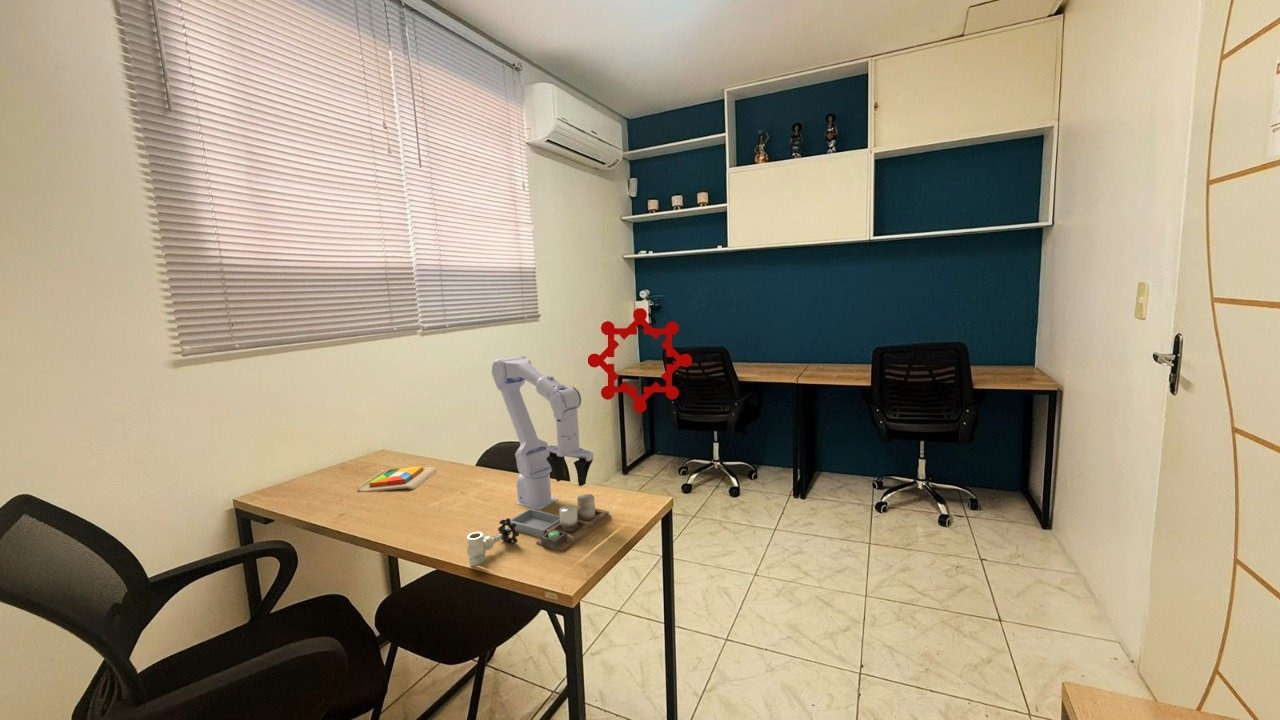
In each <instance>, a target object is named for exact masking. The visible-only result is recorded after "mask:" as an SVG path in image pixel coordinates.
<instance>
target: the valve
mask: <svg viewBox="0 0 1280 720" xmlns="http://www.w3.org/2000/svg"><path fill="white" fill-rule="evenodd" d="M510 519H511V518H509V517H507V518H506V519H502V520H499V525H500V526H499V527H498V528H497V530H498V532H499V533H496V534H494V535H493V536H489V535H487V536H484V534H483V532H480V531H475V532H472V533H469V534H467V536H466V538H467V539H466V540H467V547H466V555H467V556H468V558H469V565H470V567H480V564H482V563H484V562H486V555H485V554H486V551H489V550H491V549H493V548H494V544H496V543H497V542H499V541H501V540H502V541H503V542H505V543H506V544H509V545H510V544H513V545H515V544H517V543H518V539H517V537H518V536H520V532H519V531H516V530H515V527H516V524H515V523H513V524H511V523H510V522H511V521H510ZM506 526H507V527H508V526H509V527H510V528H511V529H510V528H506ZM510 535H511V536H512V537H510Z"/></svg>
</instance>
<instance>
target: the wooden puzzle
mask: <svg viewBox="0 0 1280 720" xmlns="http://www.w3.org/2000/svg"><path fill="white" fill-rule="evenodd" d="M434 472H435V473H437V470H436V468H435V467H433V466H428V467H424V466H423V465H421V466H413V467H406V468H405V467H404V468H393V469H389V470H388V469H383V470H381V471H379V472H378V473H376V474H375V475H373V476H372V477H370V478H369V479H367V480H366V481H364V482H363V483H361V484H360V485H358V487H357V490H358V492H359V493H367V492H368V493H369V492H371V493H372V492H373V493H374V492H383V491H393V490H401V489H403V490H404V489H408V490H412V491H413V490H416V489H417V488H418V487H419V486H421V485H422V484H424V483H425V482H426V481H427V480H428V479H429V478H430V477H429V476H430V475H432V474H433V473H434ZM435 473H434V474H435ZM434 474H433V475H434ZM433 475H432V476H433ZM428 477H429V478H428ZM427 478H428V479H427ZM426 479H427V480H426ZM425 480H426V481H425ZM421 483H422V484H421ZM420 484H421V485H420ZM415 488H416V489H415Z"/></svg>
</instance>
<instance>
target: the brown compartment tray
mask: <svg viewBox="0 0 1280 720" xmlns="http://www.w3.org/2000/svg"><path fill="white" fill-rule="evenodd" d="M577 516H578V530H577V531H576V532H574V533H573V534H568V533H565V532H562V531H561V528H560V522H558V523H556V524H555V525H553V526H552V527H550V528H549V529H547V530H546V534H545V535H543V536H542V537H541V538H539V539H538V540H536V541H535V543H536V545H538V546H541V547H545V548H548V549H552V550H556V551H558V552H562V553H564V552H566V551H567V550H568V549H570V548H571V547H573V546H574V545H576V543H578V542H579V541H580V540H582V539H583V538H584V537H586V536H587V535H588V534H590V533H591V532H593V531H594V530H596V529H597V528H598V527H599V526H600V525H602V524H603V523H605V522H606V521H607V520H609V519H610V518H611V517H612V514H610V511H608V510H604V509H601V508H600V509H599V508H596V506H595V496H594V495H593V494H589V493H585V494H581V495H579V496H578V497H577ZM552 531H558V532H559V537H558V538H557V539H555V540H554V539H550V538H549V536H548V534H549V533H550V532H552Z"/></svg>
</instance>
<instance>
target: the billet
mask: <svg viewBox="0 0 1280 720" xmlns="http://www.w3.org/2000/svg"><path fill="white" fill-rule="evenodd" d="M577 510H578V506H576V505H573V504H568V505H563V506H561V507H560V508H559V511H558V512H559V516H560V528H561V531H562V532H565V533H568V534H573V533H574V532H576V531H577V530H578V516H577Z"/></svg>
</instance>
